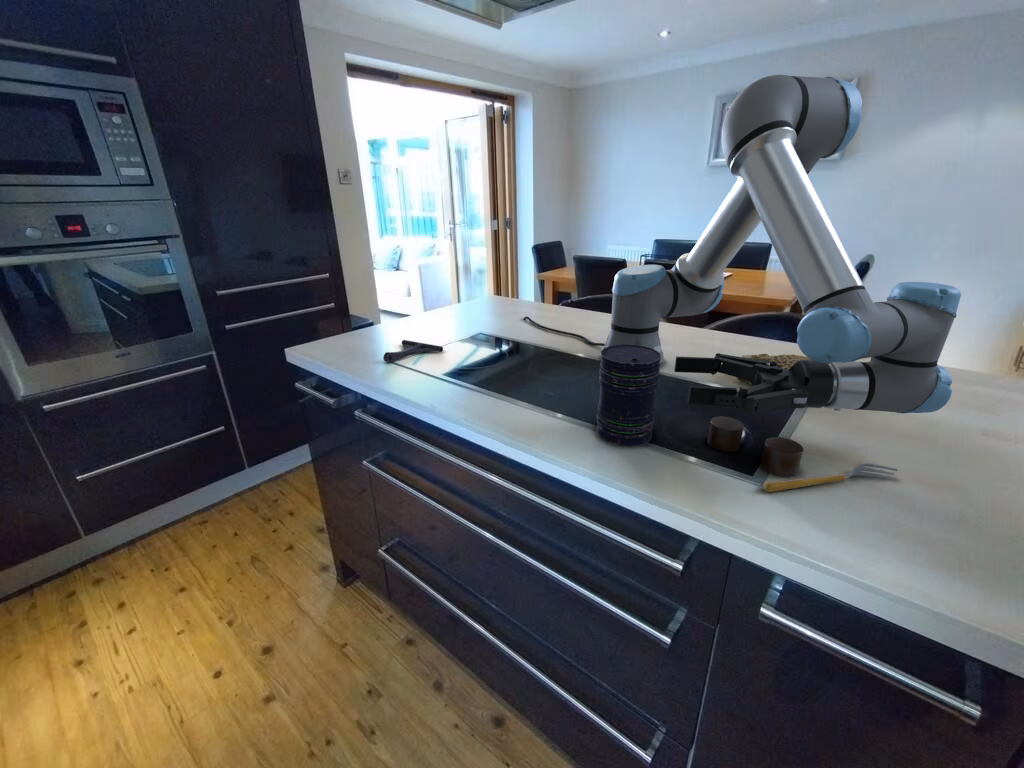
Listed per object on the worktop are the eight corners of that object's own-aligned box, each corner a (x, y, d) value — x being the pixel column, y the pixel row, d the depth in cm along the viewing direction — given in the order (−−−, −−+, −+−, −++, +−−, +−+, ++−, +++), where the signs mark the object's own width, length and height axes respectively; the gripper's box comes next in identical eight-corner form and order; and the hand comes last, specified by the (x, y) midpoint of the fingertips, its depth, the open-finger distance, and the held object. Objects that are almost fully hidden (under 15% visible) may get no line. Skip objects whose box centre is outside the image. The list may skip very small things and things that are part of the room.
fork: (772, 487, 60) (899, 468, 63) (764, 477, 62) (888, 459, 64) (766, 499, 62) (890, 480, 64) (758, 489, 63) (880, 470, 66)
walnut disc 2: (754, 466, 68) (759, 443, 67) (770, 455, 71) (775, 433, 69) (788, 481, 64) (794, 457, 63) (803, 469, 67) (809, 446, 65)
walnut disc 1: (701, 442, 75) (704, 421, 73) (717, 433, 78) (721, 413, 76) (729, 455, 71) (733, 433, 70) (745, 445, 74) (749, 424, 72)
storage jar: (592, 419, 83) (596, 344, 78) (644, 419, 83) (652, 344, 77) (600, 447, 74) (605, 364, 68) (659, 446, 74) (669, 363, 68)
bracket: (366, 359, 119) (365, 349, 118) (405, 344, 130) (404, 335, 129) (406, 368, 112) (404, 358, 111) (443, 351, 123) (442, 342, 122)
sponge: (732, 391, 97) (845, 395, 84) (732, 356, 96) (846, 354, 83) (745, 383, 107) (849, 385, 94) (745, 351, 106) (849, 349, 93)
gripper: (859, 445, 59) (692, 434, 63) (787, 377, 82) (668, 372, 86) (875, 394, 56) (700, 386, 60) (796, 338, 79) (673, 335, 83)
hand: (681, 378), depth 73 cm, fingers open, 13 cm apart
